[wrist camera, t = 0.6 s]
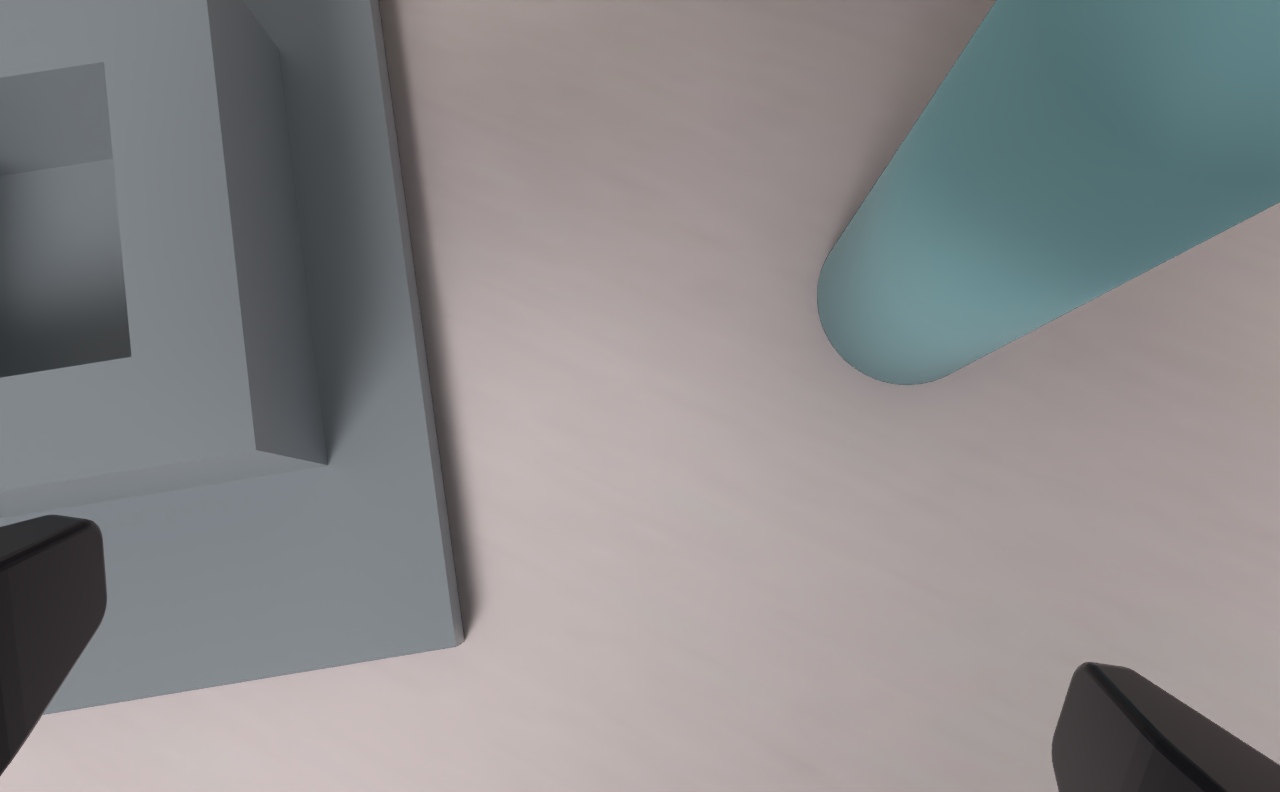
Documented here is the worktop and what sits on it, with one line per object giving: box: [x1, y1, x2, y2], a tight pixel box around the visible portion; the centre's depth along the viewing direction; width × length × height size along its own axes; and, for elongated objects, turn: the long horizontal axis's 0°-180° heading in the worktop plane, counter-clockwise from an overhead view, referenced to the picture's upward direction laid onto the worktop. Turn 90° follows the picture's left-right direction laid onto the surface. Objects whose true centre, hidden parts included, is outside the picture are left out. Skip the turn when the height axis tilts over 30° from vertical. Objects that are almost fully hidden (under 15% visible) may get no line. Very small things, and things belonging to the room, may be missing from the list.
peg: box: [817, 0, 1280, 385], centre depth 16 cm, size 4×4×13 cm
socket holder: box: [0, 0, 465, 715], centre depth 20 cm, size 18×14×5 cm
